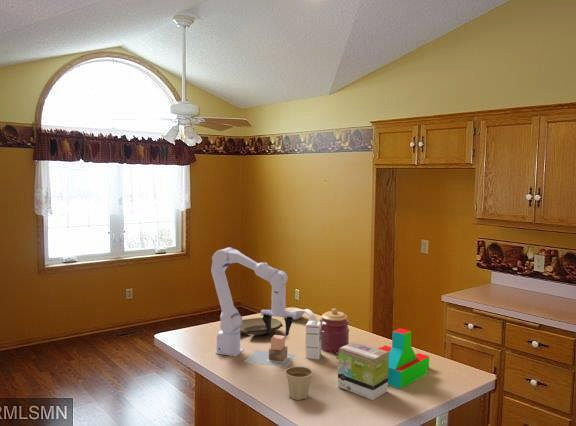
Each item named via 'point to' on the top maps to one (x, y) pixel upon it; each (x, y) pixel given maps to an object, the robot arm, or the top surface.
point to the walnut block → (278, 354)
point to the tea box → (363, 370)
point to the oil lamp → (258, 326)
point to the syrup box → (313, 339)
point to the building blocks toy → (404, 360)
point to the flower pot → (298, 382)
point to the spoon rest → (301, 312)
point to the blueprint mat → (263, 358)
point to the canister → (334, 331)
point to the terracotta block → (277, 342)
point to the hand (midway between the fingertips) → (278, 334)
